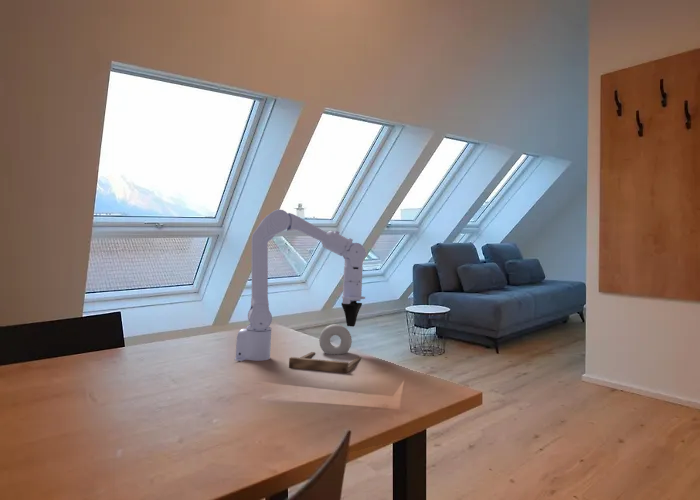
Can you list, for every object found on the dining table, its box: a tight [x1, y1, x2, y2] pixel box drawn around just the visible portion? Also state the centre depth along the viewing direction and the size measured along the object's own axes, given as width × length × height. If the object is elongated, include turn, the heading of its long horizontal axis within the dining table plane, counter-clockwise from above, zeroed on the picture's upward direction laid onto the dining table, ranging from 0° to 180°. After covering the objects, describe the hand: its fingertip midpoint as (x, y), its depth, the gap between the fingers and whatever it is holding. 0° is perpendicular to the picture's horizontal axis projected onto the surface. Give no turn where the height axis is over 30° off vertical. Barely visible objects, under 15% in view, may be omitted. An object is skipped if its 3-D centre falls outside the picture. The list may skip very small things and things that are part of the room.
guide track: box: [288, 351, 363, 374], centre depth 134 cm, size 16×18×2 cm
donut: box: [318, 323, 353, 356], centre depth 145 cm, size 10×3×10 cm, turn 84°
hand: (350, 326), depth 146 cm, fingers closed
